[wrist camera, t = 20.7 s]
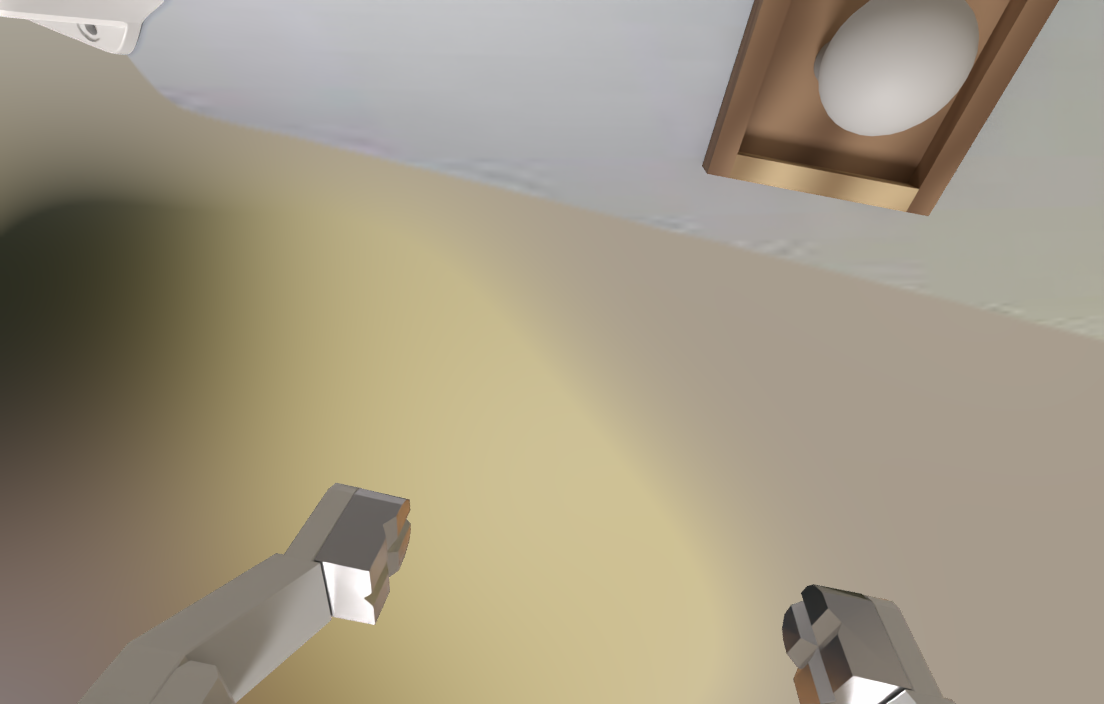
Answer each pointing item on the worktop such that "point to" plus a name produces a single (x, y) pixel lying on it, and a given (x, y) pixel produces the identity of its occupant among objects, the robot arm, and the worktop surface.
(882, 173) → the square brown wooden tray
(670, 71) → the worktop surface
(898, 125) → the lightbulb
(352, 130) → the worktop surface
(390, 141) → the worktop surface
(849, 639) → the robot arm
